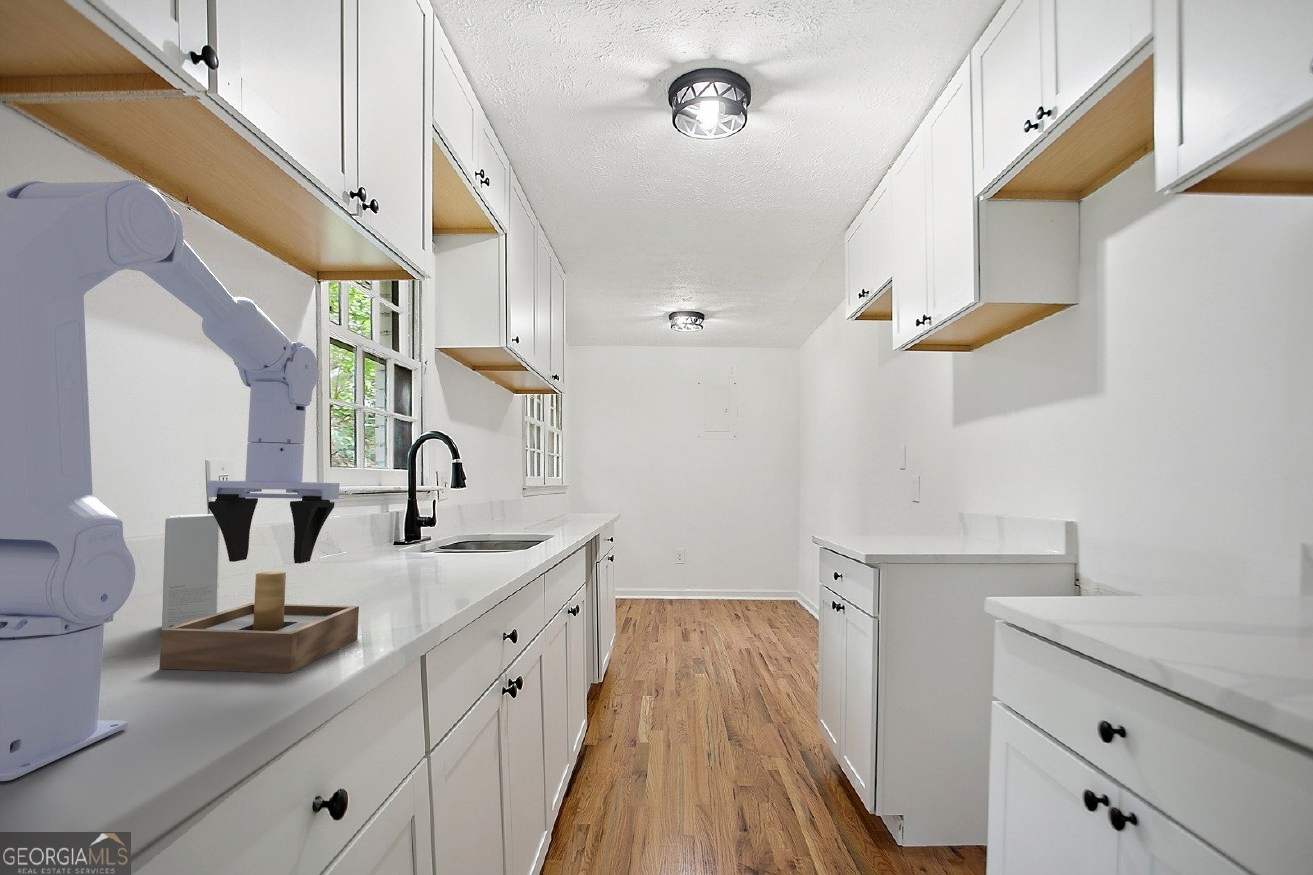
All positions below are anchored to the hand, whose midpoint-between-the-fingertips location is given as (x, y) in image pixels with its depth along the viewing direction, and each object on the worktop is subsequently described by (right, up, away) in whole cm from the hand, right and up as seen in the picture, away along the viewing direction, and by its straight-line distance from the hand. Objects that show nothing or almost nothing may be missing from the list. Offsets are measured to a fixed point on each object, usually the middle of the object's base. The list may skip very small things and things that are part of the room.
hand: (270, 561), depth 75 cm
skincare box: (-17, -11, +10) cm, 22 cm away
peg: (0, -9, 0) cm, 9 cm away
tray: (0, -10, 0) cm, 10 cm away
